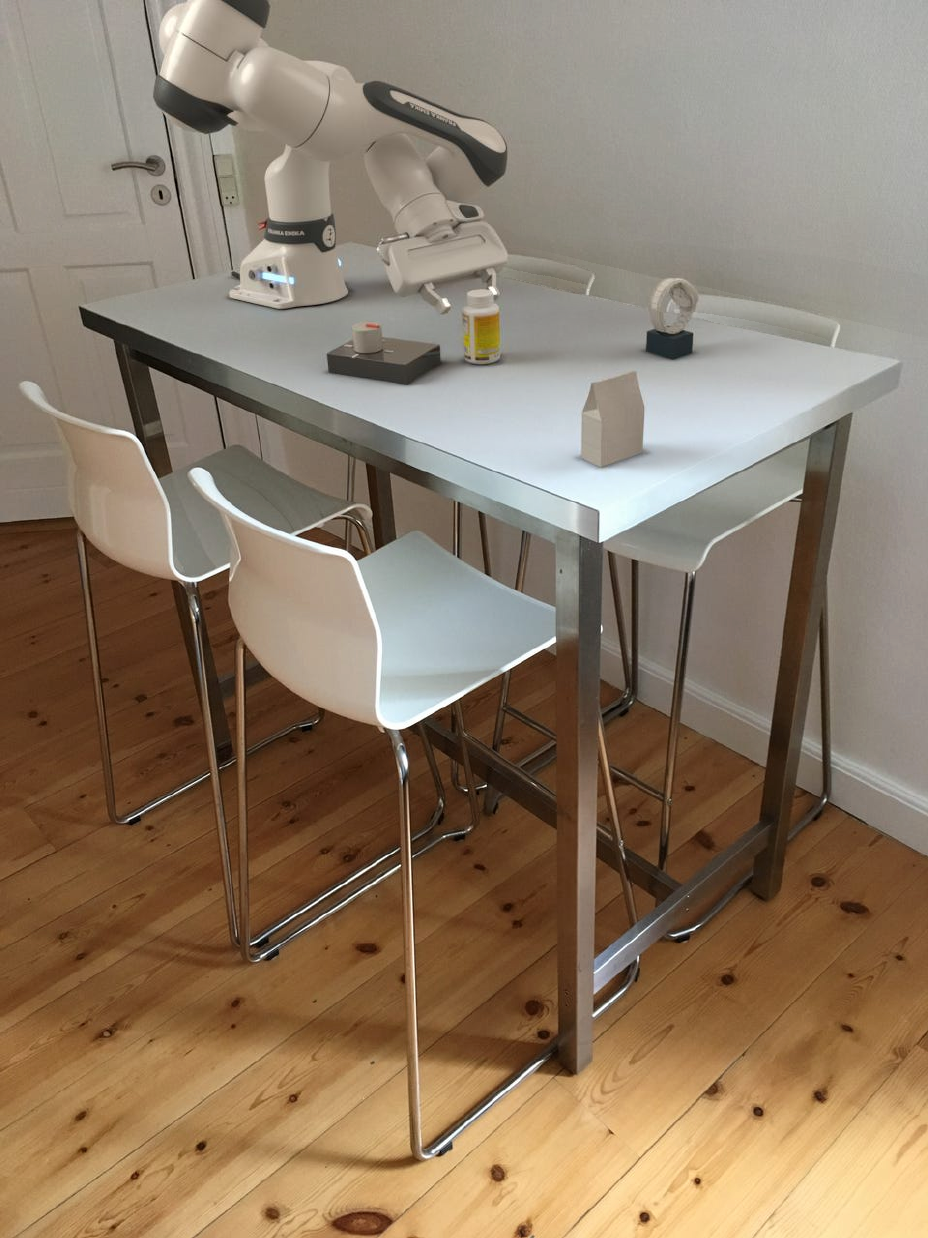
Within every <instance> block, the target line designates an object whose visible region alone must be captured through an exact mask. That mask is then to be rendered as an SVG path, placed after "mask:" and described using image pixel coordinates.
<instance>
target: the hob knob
mask: <svg viewBox="0 0 928 1238" xmlns="http://www.w3.org/2000/svg"><path fill="white" fill-rule="evenodd" d="M351 331H352V332H351V333H352V340H353V344H354V351H356V352H358V353H375V352H378V351H381V350H382V349H383V339H382V337H383V332H382V331H383V328H382V324H381V323H380V322H376V321H361V322H357V323H355V324H353V325H352V326H351Z"/></svg>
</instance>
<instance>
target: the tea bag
mask: <svg viewBox="0 0 928 1238" xmlns="http://www.w3.org/2000/svg"><path fill="white" fill-rule="evenodd" d="M637 373H638V372H637V371H636V370H630V371H629V372H624V373H621V374H618V375H614V376H611V377H607V378H604V379H601V380H597V381H594V382H591V383H590V386H589V391H588V395H587V397H586V399H585V403H584V406H583V408H582V411H581V425H580V426H581V427H580V428H581V430H580V431H581V433H580V437H581V438H580V458H581V459H582V460H584V461H586V462H588V463H591V464H593V466H597V467H598V468H604V467H606V466H609V465H611V464H616V463H618V462H621V461H625V460H627V459H629V458H632V457H635V456H638V455H641V454H643V448H644V429H645V427H644V426H645V410H646V409H645V403H644V400H643V396H642V392H641V389H640V384H639V381H638V374H637Z"/></svg>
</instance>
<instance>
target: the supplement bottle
mask: <svg viewBox="0 0 928 1238" xmlns="http://www.w3.org/2000/svg"><path fill="white" fill-rule="evenodd" d="M493 300H494V298H493V292H492V291H490V290H486V289H485V288H483V289H481V288H479V289H472V290H470V291H467V293H466V304H465V305H464V306H463V307H462V310H461V317H462V318H461V319H462V336H463V337H462V339H463V357H464V360H465V361H466V362H467V363H469V364H473V365H488V364H493V363H495V362H497V361H498V360H499V359H500V357H501V333H500V332H501V331H500V330H501V327H500V326H501V325H500V308H499V305H497V304H496V303H494V302H495V301H493Z"/></svg>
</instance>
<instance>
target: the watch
mask: <svg viewBox="0 0 928 1238" xmlns="http://www.w3.org/2000/svg"><path fill="white" fill-rule="evenodd" d="M667 293H668V294H669V296H670V298H671V299H672V300H673V302H674V303H675V305H676V307H677V309H678V310H679V313H678V315H677V317H676V319H675V321H674V322H673V323H672V324H671V325H668V324H667V323H666V319H665V315H664V312H663V311H662V302H663V300H664V297H665V295H666V294H667ZM699 300H700V295H699V293H698V291H697V289H696V288H695V286H694V285H693V284H692V283H691V282H689V281H688V280H686V279H685V278H681V277H676V278H673V277H667V278H664V279H662V280H660V281H659V282H658V283H657V284H656V285H655V288H654V289H653V291H652V294H651V295H650V300H649V305H648V307H649V308H648V314H649V319H650V322H651V324H652V326H653V329H650V330H647V331H646V338H645V341H646V342H645V352H647V353H650V354H653V355H656V356H660V357H663V358H666V359H669V360H676V359H678V358H681V357H685V356H688V355H690V354H693V348H694V347H693V346H694V332H692V331H688V330H685V328H686V327H687V326H688V325H689V322H690V321H691V320H692V317H693V314H694V313H695V312H696V308H697V303H699Z"/></svg>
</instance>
